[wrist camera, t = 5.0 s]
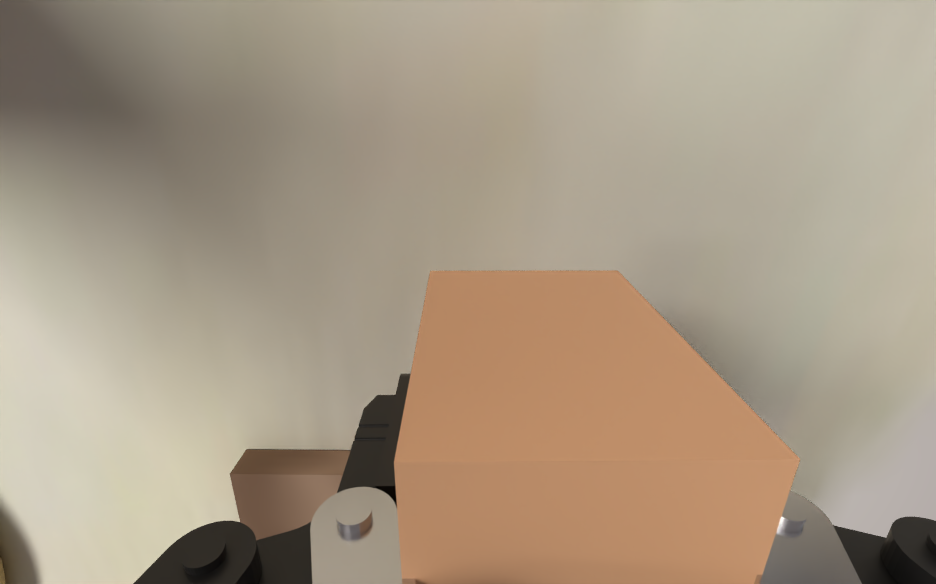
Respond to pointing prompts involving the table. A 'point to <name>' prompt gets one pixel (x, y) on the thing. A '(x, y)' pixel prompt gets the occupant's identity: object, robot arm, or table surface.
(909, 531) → the robot arm
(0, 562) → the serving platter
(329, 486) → the shelf board
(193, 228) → the table surface
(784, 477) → the carton
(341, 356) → the table surface
